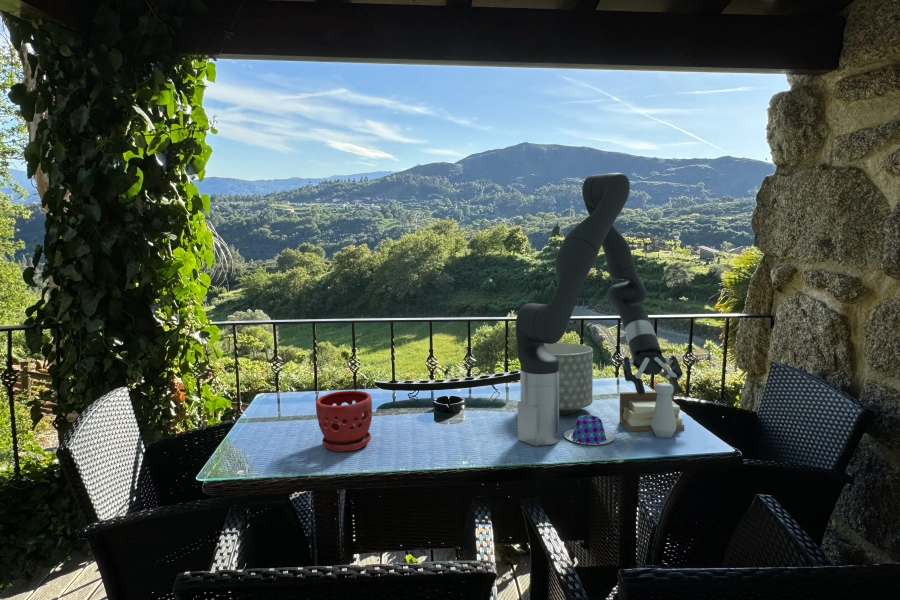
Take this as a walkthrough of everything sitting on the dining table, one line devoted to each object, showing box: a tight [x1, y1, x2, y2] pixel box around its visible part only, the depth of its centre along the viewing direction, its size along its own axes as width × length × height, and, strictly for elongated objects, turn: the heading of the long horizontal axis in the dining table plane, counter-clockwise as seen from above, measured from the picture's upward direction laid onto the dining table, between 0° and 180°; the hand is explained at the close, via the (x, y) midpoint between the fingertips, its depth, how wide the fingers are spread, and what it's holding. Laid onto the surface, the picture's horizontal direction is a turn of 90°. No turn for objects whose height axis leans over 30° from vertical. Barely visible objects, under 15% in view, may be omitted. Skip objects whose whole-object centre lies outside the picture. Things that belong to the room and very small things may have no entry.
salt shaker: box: [651, 382, 677, 439], centre depth 136 cm, size 6×6×13 cm
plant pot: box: [315, 390, 373, 452], centre depth 133 cm, size 13×13×12 cm
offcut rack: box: [619, 391, 685, 432], centre depth 143 cm, size 8×14×8 cm, turn 92°
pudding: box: [563, 414, 615, 446], centre depth 135 cm, size 12×12×5 cm
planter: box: [544, 342, 594, 416], centre depth 158 cm, size 19×19×18 cm
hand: (659, 393), depth 138 cm, fingers open, 8 cm apart
